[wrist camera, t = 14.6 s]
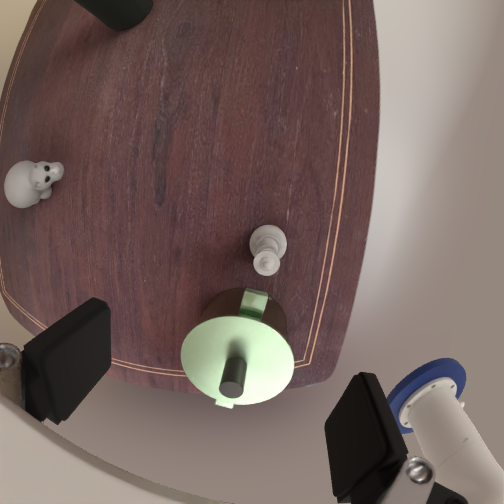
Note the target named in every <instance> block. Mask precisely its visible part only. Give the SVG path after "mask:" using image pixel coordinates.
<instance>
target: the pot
mask: <svg viewBox="0 0 504 504" xmlns="http://www.w3.org/2000/svg"><path fill="white" fill-rule="evenodd" d="M225 314H238V315H245V316H250V317H254V318H257V319H259V320H262V321H264V322H266V323H268V324H269V325H271V326H273V327H274V328H275V329H277V330H278V331H279V332H280V333H281V334H282V335H283V336H284V337H285V338H286V340H287V341H288V332H287V322H286V316H285V314H284V312H283V310H282V308H281V307H280V305H279V304H278V303H277V302H276V301H275V300H274V299H273V298H272V297H270V296H269V295H268V293H266V292H262V291H258V290H255V289H251V288H247V287H246V288H235V289H230V290H227V291H224V292H222V293H220V294H219V295H217V296H216V297H215V298H213V300H212V301H211V302H210V303H209V305H208V306H207V307H206V309H205V310H204V312H203V314H202V316H201V318H200V319H199V321H198V323H200V322H202V321H204V320H206V319H208V318H211V317H214V316H218V315H225ZM198 323H197V324H198ZM215 404H216V405H220V406H224V407H227V408H233V406H234V404H231V403H226V402H222V401H219V400H217V399H216V400H215Z"/></svg>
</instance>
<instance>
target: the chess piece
mask: <svg viewBox="0 0 504 504" xmlns="http://www.w3.org/2000/svg"><path fill="white" fill-rule="evenodd" d="M286 246H287V241H286V237H285V235H284V233H283V232H282V230H281V229H279V228H278V227H276V226H273V225H263V226H261V227H259V228H257V229H256V230H255V231H254V232H253V234H252V236H251V239H250V250H251V252H252V255H253V256H254V257H255V258H254V263H253V264H254V268H255V270H256V271H257V272H258V273H259V274H261V275H264V276H269V275H272V274H274V273H275V272H276V271H277V270H278V268H279V265H280V260H279V259H280V258H281V257H282V256H283V255H284V253H285V251H286Z"/></svg>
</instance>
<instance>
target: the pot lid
mask: <svg viewBox="0 0 504 504" xmlns="http://www.w3.org/2000/svg"><path fill="white" fill-rule="evenodd" d="M181 363H182V366H183V369H184V371H185V373H186V375H187V377H188V378H189V380H190V381H191V382H192V383H193V384H194V385H195V386H196V387H197V388H198V389H199V390H200V391H202V392H203V393H205V394H206V395H208V396H210V397H212V398H214V399H217V400H219V401H222V402H226V403H231V404H254V403H259V402H263V401H266V400H268V399H270V398H272V397H274V396H276V395H277V394H278V393H280V392H281V391H282V390H283V389H284V388H285V387H286V386H287V384H288V383H289V381H290V380H291V378H292V375H293V371H294V356H293V352H292V349H291V346H290V345H289V343H288V341H287V340H286V338H285V337H284V336H283V335H282V334H281V333H280V332H279V331H278V330H277V329H275V328H274V327H273V326H271V325H269V324H268V323H266V322H264V321H262V320H259V319H257V318H254V317H250V316H245V315H238V314H225V315H218V316H214V317H211V318H208V319H206V320H204V321H202V322H200V323H198V324H197V325H196V326H195V327H193V328H192V329H191V331H190V332H189V333H188V334H187V336H186V338H185V339H184V342H183V344H182V348H181Z"/></svg>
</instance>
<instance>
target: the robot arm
mask: <svg viewBox="0 0 504 504" xmlns="http://www.w3.org/2000/svg"><path fill="white" fill-rule="evenodd" d="M110 318H111V311H110V308H109V307H108V305H107V303H106V302H104V301H102V300H100V299H97V298H95V297H93V298H91V299H89V300H88V301H86V302H85V303H83V304H82V305H80V306H79V307H77V308H76V309H74V310H73V311H72V312H70V313H69V314H67V315H66V316H64V317H63V318H61V319H60V320H59V321H57V322H56V323H54V324H53V325H52V326H50V327H49V328H47V329H46V330H45V331H43V332H42V333H40V334H39V335H38V336H36V337H35V338H33V339H32V340H31V341H29V342H28V343H27V344H25V345H24V350H23V351H22V352H20V350H19V348H17V347H16V346H15V345H13V344H10V343H0V504H232V503H226V502H222V501H217V500H212V499H208V498H204V497H200V496H196V495H192V494H189V493H185V492H182V491H179V490H175V489H172V488H169V487H166V486H163V485H160V484H157V483H154V482H152V481H149V480H147V479H144V478H142V477H139V476H137V475H134V474H132V473H129V472H127V471H125V470H123V469H120V468H118V467H116V466H114V465H112V464H110V463H108V462H106V461H104V460H102V459H100V458H98V457H96V456H94V455H92V454H90V453H88V452H87V451H85V450H83V449H82V448H80V447H78V446H76V445H74V444H73V443H71V442H70V441H68V440H67V439H65V438H63V437H62V436H60V435H59V434H57V433H56V432H54V431H53V430H51V429H50V428H48V427H47V426H45V425H44V422H43V421H44V420H45V419H46V418H48V419H49V420H51V421H52V422H54V423H55V424H57V425H58V424H59V423H60V422H61V421H62V420H63V421H65V420H67V419H68V418H69V416H70V415H71V414H72V412H73V411H74V410H75V409H76V408H77V406H78V405H79V404H80V403H81V402H82V400H83V399H84V398H85V397H86V396H87V394H88V393H89V392H90V391H91V390H92V388H93V387H94V386H95V385H96V384H97V382H98V381H99V380H100V379H101V378H102V376H103V375H104V374H105V373H106V372H107V371H108V369H109V368H110V366H111V330H110ZM456 391H457V386H456V383H455V382H454V381H453V380H452V379H451V378H449V377H441V378H437V379H434V380H432V381H430V382H428V383H426V384H424V385H423V386H421V387H420V388H419V389H417V390H416V391H415V392H414V393H413V394H411V395H410V397H409V398H408V399H407V400H406V401H405V402H404V404H403V405H402V407H401V409H400V412H399V421H400V423H401V424H402V425H403V426H404V427H407V428H412V429H413V431H414V433H415V436H416V437H417V440H418V442H419V444H420V447H421V449H422V451H423V454H424V456H425V458H426V459H425V458H422V457H417V456H415V457H410V458H409V459H408V458H407V456H406V455H407V453H408V450H407V447H406V445H405V442H404V440H403V437H402V435H401V432H400V430H399V427H398V425H397V422H396V420H395V418H394V415H393V413H392V411H391V408H390V406H389V404H388V401H387V399H386V397H385V395H384V392H383V390H382V388H381V386H380V383H379V381H378V379H377V377H376V375H375V374H373V373H366V372H360V373H359V374H358V375H354V376H353V378H352V380H351V381H350V383H349V385H348V387H347V389H346V390H345V392H344V393H343V395H342V397H341V398H340V400H339V402H338V403H337V405H336V406H335V408H334V409H333V411H332V412H331V414H330V416H329V417H328V419H327V420H326V422H325V427H324V428H325V436H326V443H327V450H328V457H329V464H330V471H331V480H332V489H333V495H334V496H335V497H337V501H338V503H351V504H504V471H503V469H502V468H501V467H500V466H499V465H498V463H497V462H496V460H495V459H494V457H493V456H492V454H491V453H490V451H489V449H488V448H487V446H486V444H485V443H484V441H483V440H482V438H481V436H480V435H479V433H478V432H477V430H476V428H475V427H474V425H473V424H472V422H471V420H470V419H469V417H468V416H467V414H466V413H465V411H464V410H463V407H464V402H458V400H457V399H456V397H455V395H456ZM454 491H456V492H458V493H459V494H458V493H456V492H454Z"/></svg>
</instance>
